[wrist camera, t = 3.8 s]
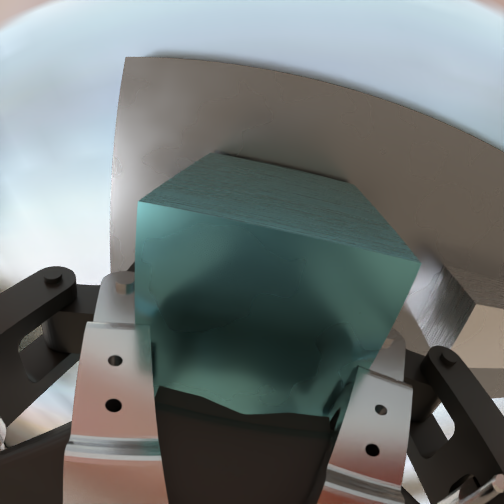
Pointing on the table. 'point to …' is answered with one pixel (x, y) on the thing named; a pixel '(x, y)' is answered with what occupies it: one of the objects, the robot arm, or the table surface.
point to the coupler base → (339, 168)
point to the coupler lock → (265, 284)
